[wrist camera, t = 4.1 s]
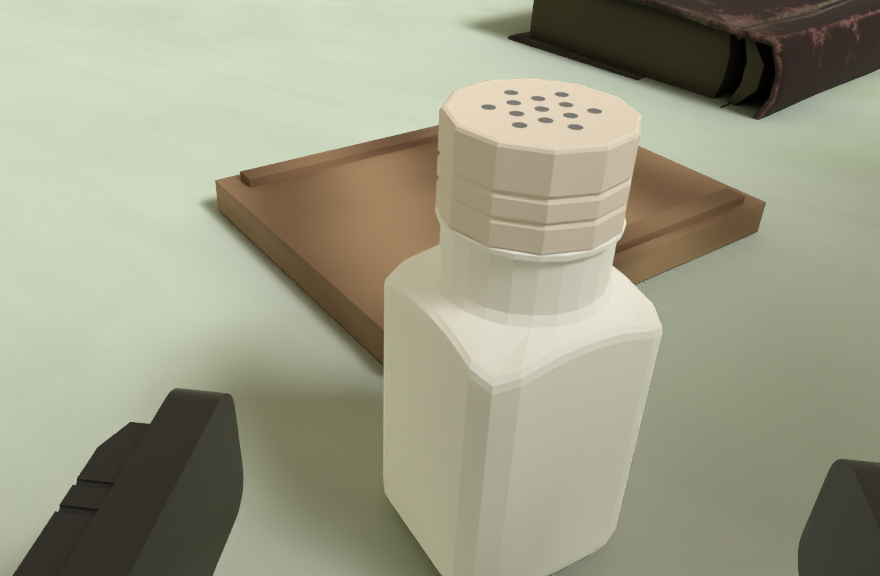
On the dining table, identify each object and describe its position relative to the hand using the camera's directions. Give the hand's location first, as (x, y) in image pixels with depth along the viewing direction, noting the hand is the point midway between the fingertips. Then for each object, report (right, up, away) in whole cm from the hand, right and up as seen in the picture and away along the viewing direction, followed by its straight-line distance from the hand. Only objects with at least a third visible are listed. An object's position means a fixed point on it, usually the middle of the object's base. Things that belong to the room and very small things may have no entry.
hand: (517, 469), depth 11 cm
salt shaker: (0, -3, +7) cm, 8 cm away
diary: (+18, +18, +42) cm, 49 cm away
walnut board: (+1, +5, +19) cm, 19 cm away
